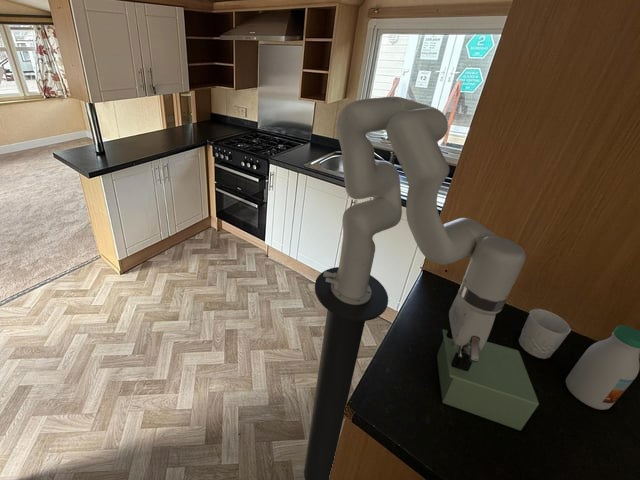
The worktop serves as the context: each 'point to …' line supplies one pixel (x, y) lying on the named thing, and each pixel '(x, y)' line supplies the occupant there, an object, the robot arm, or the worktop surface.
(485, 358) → the lid
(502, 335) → the worktop surface
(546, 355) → the white cup
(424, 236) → the robot arm
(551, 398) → the worktop surface
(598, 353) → the milk bottle
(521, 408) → the chest
